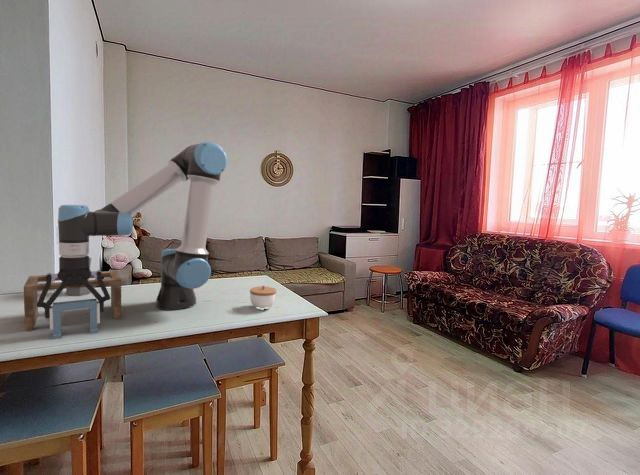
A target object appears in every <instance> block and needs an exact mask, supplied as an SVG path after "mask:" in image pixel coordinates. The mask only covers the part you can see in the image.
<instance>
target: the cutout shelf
mask: <svg viewBox="0 0 640 475" xmlns="http://www.w3.org/2000/svg"><path fill="white" fill-rule="evenodd" d="M46 275H47V274H43V275H29V276H28V278H27V280H26V282H25V284H24V285H23V305H24V307H23V308H24V310H23V311H24V312H23V314H24V331H25V332H26V331H27V332H29V331H34V329H35V326H36V322H37V319H38V317H39V307H37V303H38V300H39V298H38V292H42V291H43V288H44V286H45V284H46ZM101 278H102V280H103V282H104V284H105V286H110V307H111V311H112V315H113V318H114V320H118V319H122V278H121V276H120V275H119V272H118V271H117V270H108V271H107V270H106V271H101ZM58 281H59V282H58ZM88 281H89V282H90V284H91V285H92V286H93V287H100V285H99V283H98V280H97V279H95V278H94V276H93V275H91V276H90V277H89V280H88ZM41 282H43V283H41ZM44 282H45V283H44ZM61 283H62V281H61V280H60V279H59V278H58V277H57V278H55V280H54V281H53V282H51V285H50V287H49V290H48V291H51V290H52V291H53V290H55V291H56V289H57V288H58V287H59V285H60V284H61ZM80 287H85V286H84V284H83V285H81V286H76V285H75V286H70V287H69V286H66V287H65V288H64V289H63V290H65V289H67V288H80Z"/></svg>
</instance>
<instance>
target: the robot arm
mask: <svg viewBox="0 0 640 475" xmlns="http://www.w3.org/2000/svg"><path fill="white" fill-rule="evenodd" d="M227 166H228V156H227V154H226V152H225V150H224V149H223V147H222V146H220V145H219V144H218V143H215V142H211V141H208V142H207V141H203V142H200V143H196V144H191V145H188V146H187V147H185V148H184V149H183V150H182V151H181V152H180V153H178V154H176V155H175V156H174V157H172V158H171V159H170V160H168V161H167V165H166V166H164V167H162V168H161V169H159V170H158V171H156V172H154V174H151V176H149V177H147V178H145V179H144V180H143V181H142V182H140V183H139V184H137V185H135V186H134V187H132V188H130V189H129V190H128V191H126V192H125V193H123V194H122V195H121V196H119V197H117V198H115V199H114V200H113V201H111V202H110V203H108V204H106V205H105V206H104V207H102V208H101V209H97V210H95V211H90V208H89V206H87V205H84V204H83V205H82V204H81V205H80V204H62V205H60V206H59V207H58V216H57V217H58V218H57V225H58V226H57V228H58V255H59V257H58V265H59V266H58V267H59V269H58V270H59V271H58V273H51V272H47V273H46V274H45V275H46V281H45V283H46V284H45V286H44V288H43V291H41V293H40V296H39V298H38V303H37V307H38V308H43V309H44V318H45V319H46V320H47V319H49V330H50V331H53V303H55V301H56V300H57V298H58V297H59V295H61V293H62V292H63V291H64V290H65V289H64V288H65V287H66V286H69V287H70V286H75V285H76V286H81V285H83V284H84V286H85V287H87V289H88V290H89V291H90V292H91V293H90V294H92V296H94V297H95V299H97V324H100V323H101V318H100V316H101V313H103V312H104V310H105V302H106V301H111V294H109V291H108V288H107V287H106V285H105V284H104V282H103V280H102V279H103V277H101V272H102V271H101V270H99V269H98V270H96V271H95V270H94V271H91V267H90V268H89V258H90V256H89V254H90V236H91V237H96V236H99V237H102V236H103V237H104V236H105V237H107V236H109V237H110V236H116V237H117V236H119V237H121V236H130V235H131V234H132V233H133V231H134V219H133V215H135V214H136V213H137V212H139V211H140V210H142V209H143V208H145V207H146V206H147V205H149V204H151V203H152V202H153V201H155V200H157V198H159V197H160V196H162V195H163V194H165V193H166V192H168V191H169V190H171V188H173V187H175V186H176V185H177V184H180V183H181V182H184V183H185V182H186V181H188V180H189V181H190V184H189V189H188V190H189V191H188V198H187V204H186V209H185V217H184V224H183V232H182V237H181V238H182V239H181V244H180V245H179V247H177V248H167V249H166V248H165V249H163V250H162V251H161V254H160V255H161V256H160V274H161V275H160V289H159V291H158V293H157V297H156V299H155V306H156V307H157V308H158V309H161V310H167V309H177V310H183V309H182V308H185V309H187V308H186V307H189V308H191V307H190V306H192V305H194V304H195V305H197V297H196V294H195V291H194V289H198V288H201V287H203V285H205V284H206V283H208V281H209V279H210V277H211V275H212V274H211V273H212V269H211V268H212V267H211V265H210V264H209V261H208V260H209V254H210V252H209V251H208V250H207V248H206V245H207V240H208V232H209V226H210V220H211V213H212V212H211V211H212V205H213V198H214V193H215V192H214V191H215V186H216V185H218V184H219V183H220V180H221V174H222V173H223V172H224V171H225V170H226V168H227ZM91 275H93V276H94V278H93V279H96V280H98V283H99V285H100V286H99V287H100V289H101V291H102V293H103V296H102V295H101V294H100V293H99V292H98V291H97V289H96V288H95V286H92V285H91V284H90V282H89V281H88V278H89V277H90V276H91ZM57 277H58V278H59V279H60V280H59V281H60V282H62V283H61V284H60V285H59V287H58V288H57V289H55V291H54V292H53V293H52V294H51V296H50V297H49V298H48V300H47V301H46V302H45V299H46V297H47V294H48V292H49V291H50V290H49V287H50V285H51V283H53V282H55V281H54V280H55V278H57ZM89 279H90V278H89ZM195 305H194V306H195ZM192 307H193V306H192Z"/></svg>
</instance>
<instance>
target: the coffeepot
mask: <svg viewBox="0 0 640 475" xmlns="http://www.w3.org/2000/svg"><path fill="white" fill-rule="evenodd" d="M91 264H92V257H89V268H90V269H91ZM88 280H90V278H88ZM90 294H92V293H91V292H90V291H89V290H88V289H87V287H80V288H67V289H66V290H65V295H66V296H69V297H70V296H71V297H75V296H76V297H77V296H78V297H80V296H86V295H90Z"/></svg>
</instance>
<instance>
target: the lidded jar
mask: <svg viewBox="0 0 640 475" xmlns="http://www.w3.org/2000/svg"><path fill="white" fill-rule="evenodd" d="M249 292H250V293H249V294H250V296H249V298H250V302H251V305H252V306H253V307H254V306H255V307H260V308H265V307H270V306H271V307H272V306H273V305H274V304H275V302H276V298H277V297H276V296H277V289H276V288H274V287H272V286H266V285H262V286H254V287H251V288H250V290H249ZM255 307H254V308H255ZM271 307H270V308H271Z"/></svg>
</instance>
